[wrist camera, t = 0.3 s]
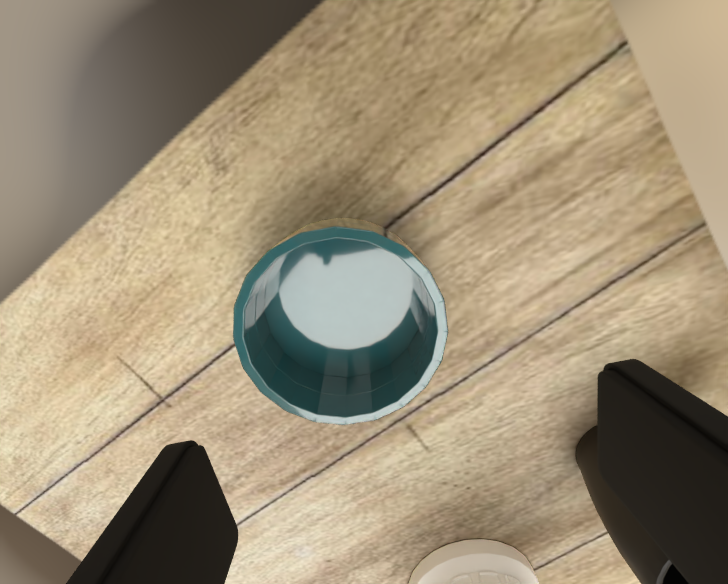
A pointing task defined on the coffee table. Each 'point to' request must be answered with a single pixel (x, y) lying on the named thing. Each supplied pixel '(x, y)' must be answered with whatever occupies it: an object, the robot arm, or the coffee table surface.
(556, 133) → the coffee table surface
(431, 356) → the bowl
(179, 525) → the robot arm
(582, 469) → the mug
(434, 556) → the decorative container
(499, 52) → the coffee table surface
